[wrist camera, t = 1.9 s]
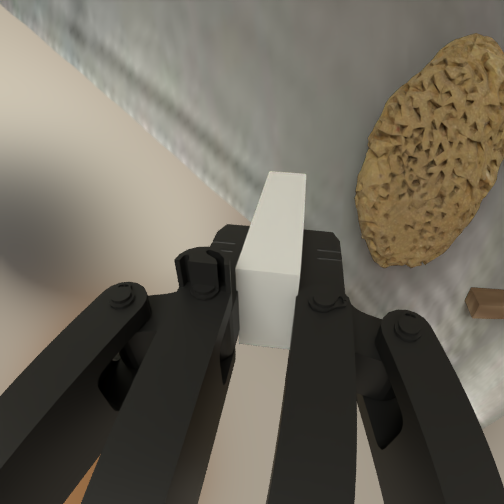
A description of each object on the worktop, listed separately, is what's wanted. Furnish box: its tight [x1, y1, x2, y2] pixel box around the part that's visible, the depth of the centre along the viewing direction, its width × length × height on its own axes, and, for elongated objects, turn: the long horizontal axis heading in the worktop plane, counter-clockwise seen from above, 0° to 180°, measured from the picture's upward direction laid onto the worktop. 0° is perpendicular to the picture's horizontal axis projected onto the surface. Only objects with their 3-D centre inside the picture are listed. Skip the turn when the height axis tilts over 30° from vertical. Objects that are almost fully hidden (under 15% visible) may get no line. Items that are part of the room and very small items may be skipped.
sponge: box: [354, 33, 504, 268], centre depth 20 cm, size 13×8×20 cm
